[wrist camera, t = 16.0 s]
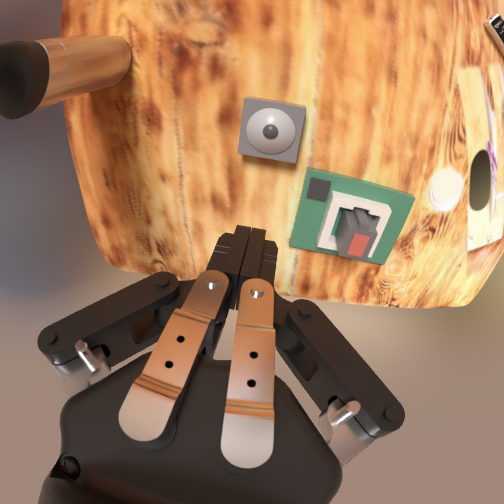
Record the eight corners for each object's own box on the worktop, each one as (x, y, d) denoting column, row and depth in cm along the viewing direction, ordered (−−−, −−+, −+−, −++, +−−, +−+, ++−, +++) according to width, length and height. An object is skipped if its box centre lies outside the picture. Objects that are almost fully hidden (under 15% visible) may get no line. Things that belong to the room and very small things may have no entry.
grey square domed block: (241, 148, 38) (237, 154, 35) (247, 96, 33) (243, 98, 30) (295, 158, 37) (295, 164, 35) (305, 106, 32) (306, 108, 30)
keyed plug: (334, 232, 43) (338, 256, 38) (345, 201, 39) (351, 223, 34) (359, 237, 43) (365, 261, 38) (370, 208, 39) (380, 230, 34)
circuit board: (289, 241, 47) (288, 253, 44) (307, 166, 38) (308, 174, 35) (382, 260, 46) (386, 272, 44) (412, 194, 37) (419, 204, 35)
